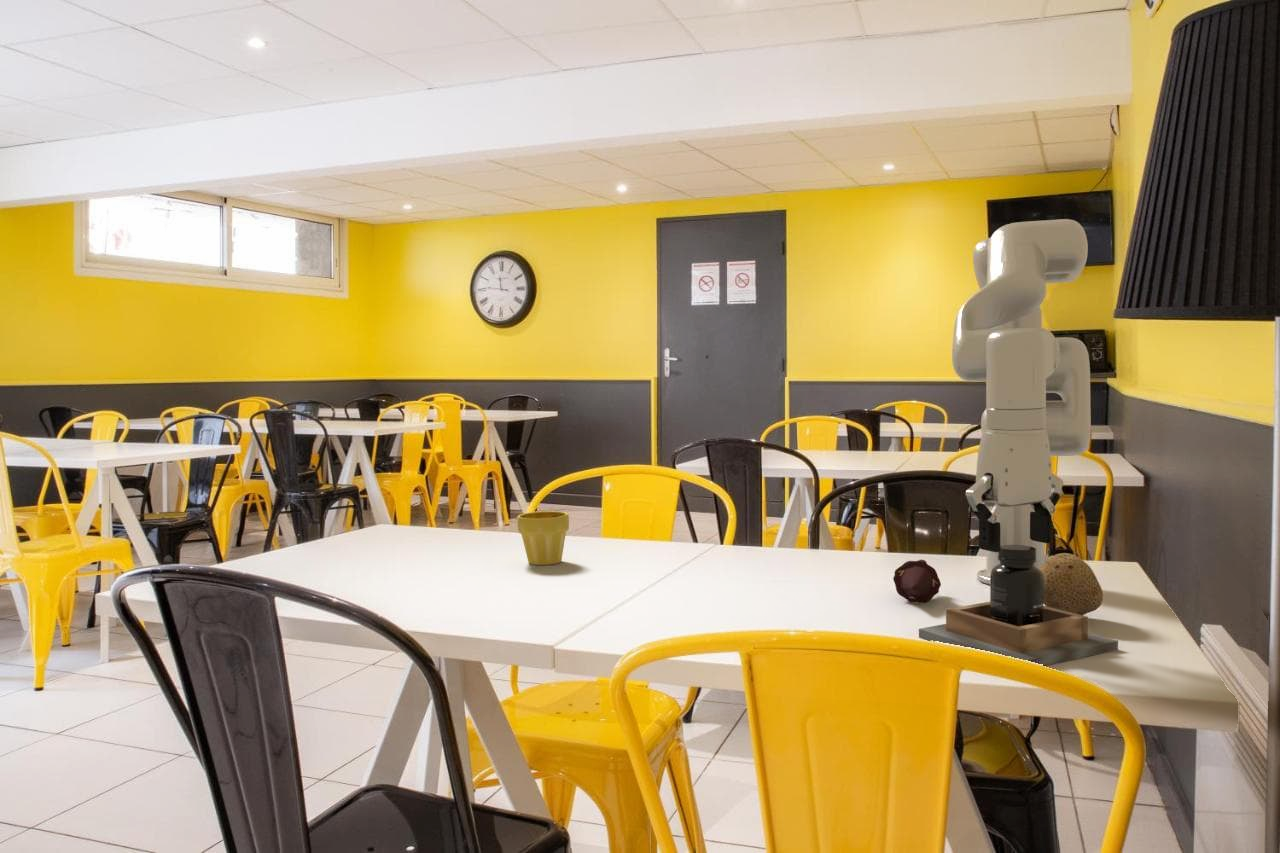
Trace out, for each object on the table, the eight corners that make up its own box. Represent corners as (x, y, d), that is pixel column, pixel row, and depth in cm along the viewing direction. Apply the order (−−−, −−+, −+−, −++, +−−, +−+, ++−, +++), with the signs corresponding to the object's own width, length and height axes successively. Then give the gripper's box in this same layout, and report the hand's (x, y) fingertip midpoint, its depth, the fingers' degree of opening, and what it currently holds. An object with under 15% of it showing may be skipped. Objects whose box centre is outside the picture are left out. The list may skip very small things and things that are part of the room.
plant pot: (509, 566, 194) (507, 517, 194) (533, 556, 204) (531, 509, 203) (556, 568, 191) (555, 519, 190) (578, 558, 200) (577, 511, 200)
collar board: (1010, 619, 146) (1010, 592, 145) (1117, 649, 130) (1118, 618, 129) (918, 637, 138) (918, 607, 137) (1021, 671, 122) (1021, 637, 121)
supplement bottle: (1048, 641, 130) (1048, 552, 129) (994, 639, 131) (994, 551, 130) (1038, 628, 136) (1038, 543, 136) (986, 626, 138) (986, 542, 137)
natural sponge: (1022, 613, 149) (1022, 548, 149) (1077, 610, 150) (1078, 546, 150) (1052, 628, 140) (1052, 560, 140) (1111, 626, 141) (1112, 557, 141)
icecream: (944, 572, 150) (946, 562, 164) (896, 558, 152) (902, 549, 166) (932, 616, 150) (935, 602, 164) (884, 601, 153) (892, 588, 167)
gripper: (1038, 415, 139) (1037, 534, 141) (947, 423, 131) (948, 549, 133) (1083, 418, 133) (1082, 542, 134) (990, 427, 125) (990, 559, 126)
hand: (1015, 545), depth 133 cm, fingers open, 9 cm apart
